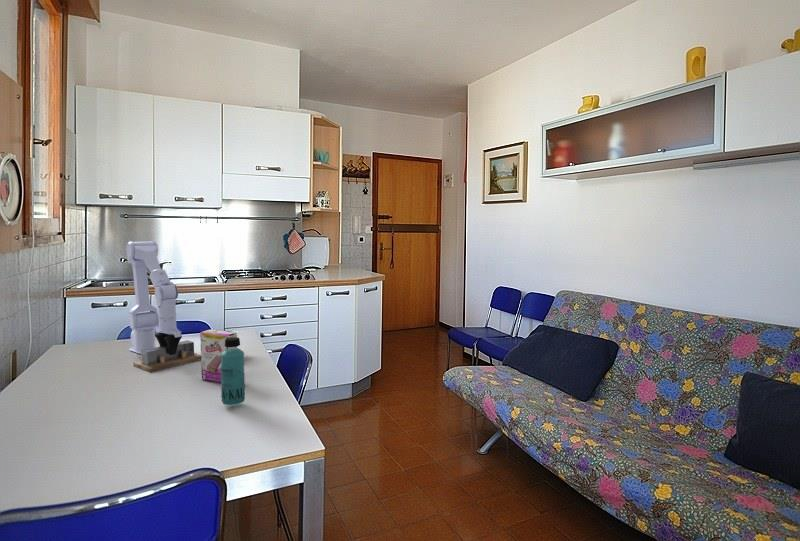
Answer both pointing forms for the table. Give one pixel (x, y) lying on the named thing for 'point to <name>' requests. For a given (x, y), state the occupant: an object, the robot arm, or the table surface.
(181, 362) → the peg rack
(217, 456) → the table surface
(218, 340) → the candy bar box
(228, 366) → the beverage bottle
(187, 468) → the table surface
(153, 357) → the gray notched long block
